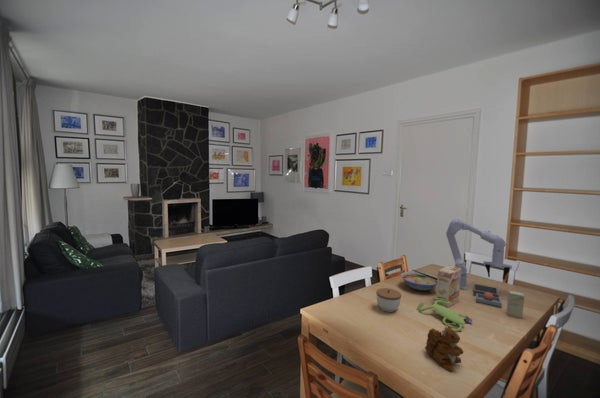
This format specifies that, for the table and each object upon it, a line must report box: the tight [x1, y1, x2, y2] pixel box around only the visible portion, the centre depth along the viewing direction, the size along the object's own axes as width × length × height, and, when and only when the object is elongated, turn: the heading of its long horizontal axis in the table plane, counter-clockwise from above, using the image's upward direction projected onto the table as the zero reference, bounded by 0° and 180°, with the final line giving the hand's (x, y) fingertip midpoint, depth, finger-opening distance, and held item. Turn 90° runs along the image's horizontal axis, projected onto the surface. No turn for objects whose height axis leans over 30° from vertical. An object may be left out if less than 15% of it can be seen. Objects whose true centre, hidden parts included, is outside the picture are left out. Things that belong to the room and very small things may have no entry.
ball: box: [483, 292, 494, 301], centre depth 164 cm, size 5×5×5 cm
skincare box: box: [505, 290, 525, 319], centre depth 148 cm, size 6×4×12 cm
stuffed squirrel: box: [424, 325, 464, 372], centre depth 111 cm, size 10×14×13 cm
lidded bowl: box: [376, 287, 402, 313], centre depth 153 cm, size 13×13×11 cm
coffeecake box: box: [435, 265, 461, 309], centre depth 162 cm, size 15×7×20 cm, turn 130°
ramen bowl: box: [400, 269, 438, 292], centre depth 182 cm, size 25×23×8 cm
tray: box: [475, 293, 503, 309], centre depth 164 cm, size 12×9×2 cm
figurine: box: [416, 297, 473, 333], centre depth 146 cm, size 18×27×6 cm
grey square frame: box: [472, 283, 500, 298], centre depth 175 cm, size 13×13×4 cm
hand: (496, 277), depth 178 cm, fingers open, 7 cm apart
